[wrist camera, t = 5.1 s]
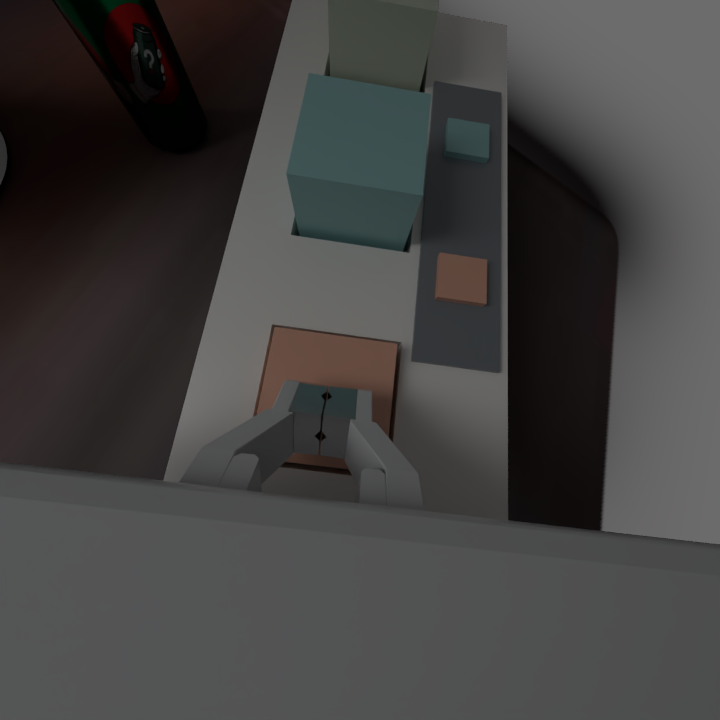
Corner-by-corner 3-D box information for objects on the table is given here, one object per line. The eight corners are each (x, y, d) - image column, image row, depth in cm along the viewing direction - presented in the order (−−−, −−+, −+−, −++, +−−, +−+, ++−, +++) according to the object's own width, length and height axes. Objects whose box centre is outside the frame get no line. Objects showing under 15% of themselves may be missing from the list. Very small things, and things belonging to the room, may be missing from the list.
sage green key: (330, 104, 17) (327, -9, 12) (342, 45, 18) (342, -77, 14) (412, 118, 17) (438, 11, 13) (418, 59, 18) (443, -57, 14)
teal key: (302, 250, 14) (286, 173, 10) (317, 171, 16) (308, 73, 11) (398, 264, 15) (422, 195, 10) (406, 185, 16) (431, 94, 11)
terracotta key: (275, 447, 14) (247, 457, 10) (293, 354, 16) (274, 326, 11) (371, 459, 15) (385, 473, 10) (381, 366, 16) (397, 343, 11)
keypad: (238, 461, 18) (152, 491, 10) (310, 125, 24) (294, -27, 16) (437, 484, 18) (515, 532, 10) (455, 149, 25) (511, 13, 17)
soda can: (218, 116, 24) (103, -175, 12) (199, 162, 23) (52, -111, 11) (159, 103, 24) (-12, -203, 12) (137, 149, 23) (-77, -141, 11)
